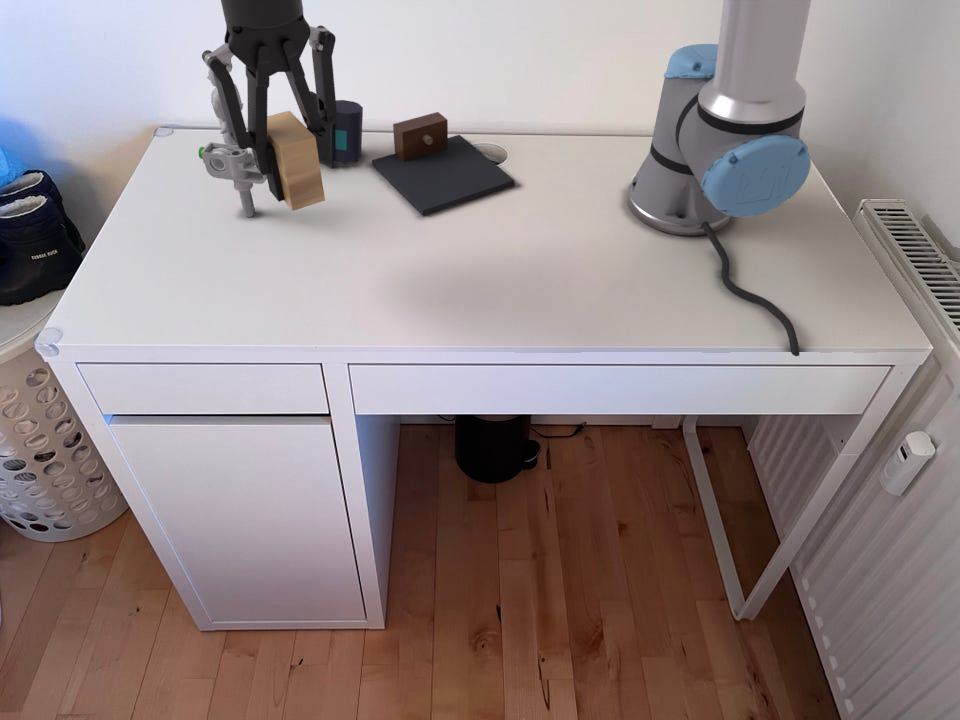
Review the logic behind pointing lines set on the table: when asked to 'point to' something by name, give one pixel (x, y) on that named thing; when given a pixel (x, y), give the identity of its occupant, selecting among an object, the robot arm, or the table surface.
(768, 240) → the table surface
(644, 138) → the table surface
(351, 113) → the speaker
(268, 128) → the pad block
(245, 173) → the mechanical component
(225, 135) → the figurine
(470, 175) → the mat
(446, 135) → the dark brown wooden block
